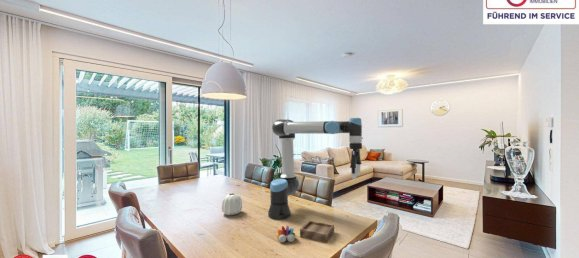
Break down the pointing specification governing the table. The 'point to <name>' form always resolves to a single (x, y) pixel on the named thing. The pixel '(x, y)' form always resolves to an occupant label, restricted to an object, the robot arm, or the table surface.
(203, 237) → the table surface
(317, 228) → the wooden tray
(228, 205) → the vase
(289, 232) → the multicoloured small pieces
